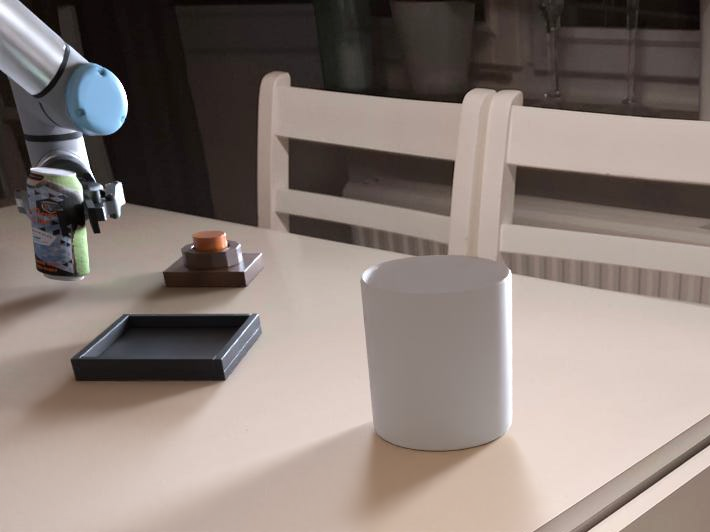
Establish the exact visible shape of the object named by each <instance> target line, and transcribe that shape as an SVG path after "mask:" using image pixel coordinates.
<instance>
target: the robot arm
mask: <svg viewBox="0 0 710 532" xmlns="http://www.w3.org/2000/svg"><path fill="white" fill-rule="evenodd" d="M0 71H1V72H3V74H4V75H6V76H7V79H8V80H9V85H10V87H11V92H12V95H13V99H14V103H15V106H16V111H17V115H18V117H19V120H20V124H21V128H22V132H23V136H24V141H25V145H26V150H27V153H28V157H29V161H30V165H31V168H55V169H63V170H69V171H73V172H75V173H76V178H77V179H78V181H79V182H80V184H81V185H82V190H83V201H84V213H85V222H87V221H89V224H90V227H91V230H92V232H93V234H94V235H97V234H101V229H100V223H99V222H106V221H108V218H107V216H108V215H109V218H110V219H113V220H117V219H119V218H120V217H121V207H122V206H123V205H125V204H126V200H125V199H126V198H125V195H124V189H123V184H122V182H121V181H118V180H114V181H113V182H110V183H105V184H104V187H105V188H104V187H103V185H102V184H101V183H99V182H97V181H96V179H95V176H94V175H93V173H92V170H91V167H90V161H89V158H88V154H87V149H86V145H85V140H84V137H83V135H86V136H91V137H94V136H108V135H109V136H110V135H111V134H114V133H116V132H117V131H118V130H119V129H120V128H121V127H122V126H123V124H124V123H125V121H126V120H125V119H126V118H127V114H128V99H127V94H126V91H125V89H124V86H123V84H122V83H121V81H120V80H119V78H118V77H117V76H116V75H115V74H114V73H113V72H112V71H110V70H109V69H107V68H106V67H103V66H102V65H99V64H98V63H94V62H89V61H88V60H87V59H86V58H84V57H83V56H82V55H81V54H80V53H79V52H78V51H76V50H75V49H74V48H73V47H72V46H71V45H69V44H68V43H67V42H66V41H64V39H62V37H61V36H60V35H58V34H57V33H56V32H55V31H54V30H52V28H50V27H49V26H48V25H47V24H46V23H45V22H43V20H41V19H40V18H39V17H38V16H37V15H36V14H34V13H33V12H32V11H31V10H30V9H29V8H28V7H27V6H25V4H23V3H22V1H20V0H0ZM12 192H13V197H14V199H15V203H16V206H17V211H18V213H19V214H23V215H26V217H27V218H28V219H29V221H30V222H31V218H30V210H29V201H28V192H27V189H26V190H25V189H20V188H16V189H14V190H12ZM55 208H56V212H57V216H58V220H59V224H60V228H61V232H62V236H63V237H67V236H69V232H68V228H67V224H66V220H65V216H64V212H63V208H62V207H55Z"/></svg>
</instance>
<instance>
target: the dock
mask: <svg viewBox="0 0 710 532" xmlns="http://www.w3.org/2000/svg"><path fill="white" fill-rule="evenodd" d="M262 333H263V331H262V325H261V319H260V314H259V313H123V314H121V316H119V317H118V318H117V319H116V320H114V321H113V322H112V323H111V324H109V326H108V327H106V328H105V329H104V330H103V331H101V333H100V334H98V335H97V336H96V337H95V338H93V339H92V340H91V341H90V342H89V343H88V344H86V345H85V346H84V347H83V348H81V349H80V351H78V352H77V353H75V355H73V356H72V357H71V358H70V364H71V368H72V371H73V375H74V378H75V381H226V380H227V379H228V378H229V377H230V375H231V374H232V372H234V370H235V368H236V367H237V366H238V365H239V363H240V362H241V361H242V359H243V358H244V357H245V355H247V353H248V352H249V350H250V349H251V348H252V346H253V345H254V344H255V342H256V341H257V340H258V339H259V338H260V336H261V335H262Z"/></svg>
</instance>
